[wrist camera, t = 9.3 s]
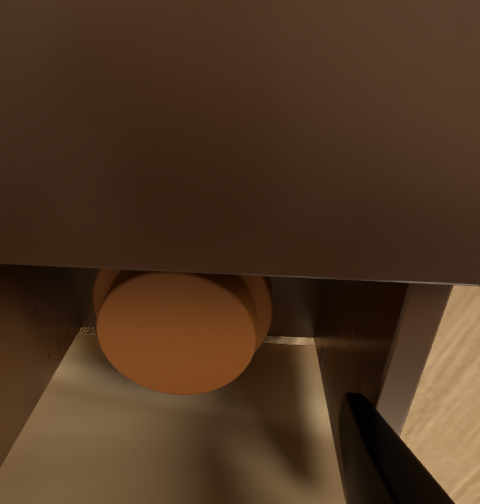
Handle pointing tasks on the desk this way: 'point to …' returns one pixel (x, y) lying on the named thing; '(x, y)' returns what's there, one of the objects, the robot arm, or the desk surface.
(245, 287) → the stacked orange cylinders
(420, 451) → the desk surface
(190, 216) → the cabinet
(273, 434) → the drawer
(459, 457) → the desk surface
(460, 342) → the desk surface
